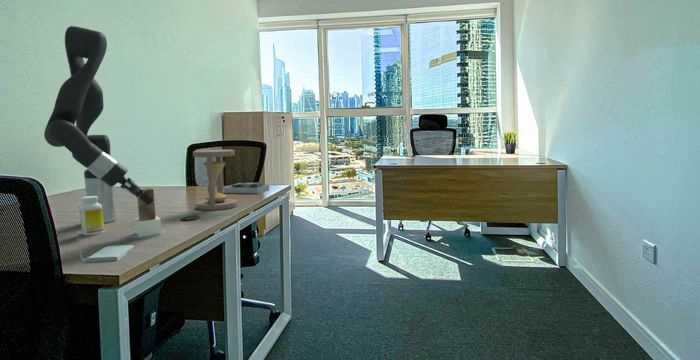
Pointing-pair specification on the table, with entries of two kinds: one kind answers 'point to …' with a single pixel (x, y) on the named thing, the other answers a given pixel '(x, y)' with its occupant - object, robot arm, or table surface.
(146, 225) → the cream block
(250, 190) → the grey organizer frame
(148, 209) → the walnut pillar
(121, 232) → the table surface
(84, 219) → the supplement bottle
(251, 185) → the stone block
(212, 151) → the hourglass
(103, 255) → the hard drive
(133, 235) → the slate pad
